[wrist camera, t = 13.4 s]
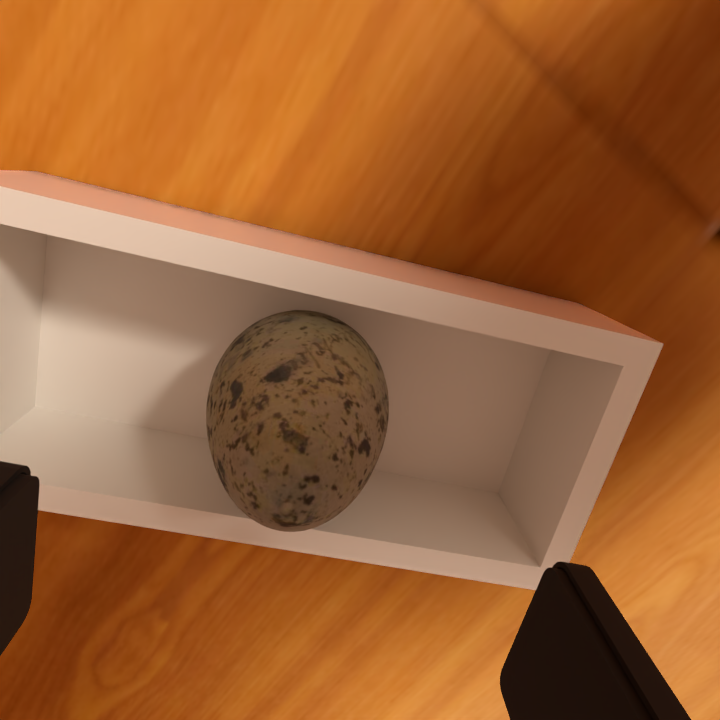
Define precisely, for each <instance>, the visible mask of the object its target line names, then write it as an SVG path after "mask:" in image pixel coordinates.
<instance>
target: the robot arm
mask: <svg viewBox="0 0 720 720" xmlns="http://www.w3.org/2000/svg"><path fill="white" fill-rule="evenodd" d="M39 485H40V484H39V478H38V477H37V476H31V471H30V469H29V467H28V466H25V465H20V464H14V463H8V462H3V461H0V655H1V654H2V652H3V651H4V650H5V648H6V647H7V645H8V644H9V642H10V641H11V639H12V638H13V636H14V635H15V633H16V632H17V631H18V629H19V628H20V626H21V625H22V623H23V621H24V620H25V618H26V616H27V613H28V611H29V608H30V604H31V599H32V585H33V571H34V556H35V542H36V528H37V514H38V500H39ZM500 687H501V692H502V695H503V698H504V701H505V704H506V708H507V711H508V714H509V717H510V720H691V719H690V717H689V716H688V714H687V713H686V711H685V710H684V708H683V707H682V705H681V704H680V702H679V701H678V699H677V697H676V696H675V694H674V693H673V691H672V690H671V688H670V687H669V685H668V684H667V682H666V681H665V679H664V678H663V676H662V675H661V673H660V672H659V670H658V669H657V667H656V666H655V664H654V663H653V661H652V660H651V658H650V657H649V655H648V653H647V652H646V650H645V649H644V647H643V646H642V644H641V643H640V641H639V640H638V638H637V637H636V635H635V634H634V632H633V631H632V629H631V628H630V626H629V625H628V623H627V622H626V620H625V619H624V617H623V616H622V614H621V613H620V611H619V609H618V608H617V606H616V605H615V603H614V602H613V600H612V599H611V597H610V596H609V594H608V593H607V591H606V590H605V588H604V587H603V585H602V584H601V582H600V581H599V579H598V578H597V576H596V575H595V573H594V572H593V570H592V569H591V568H590V567H588V566H584V565H579V564H573V563H567V562H562V561H560V562H556V563H555V564H554V565H553V567H552V568H551V567H549V568H547V569H546V570H545V571H544V573H543V575H542V577H541V580H540V582H539V584H538V587H537V589H536V591H535V594H534V596H533V598H532V601H531V603H530V605H529V608H528V610H527V612H526V615H525V617H524V619H523V621H522V624H521V626H520V628H519V631H518V633H517V635H516V638H515V640H514V642H513V645H512V647H511V649H510V652H509V654H508V656H507V659H506V661H505V663H504V666H503V668H502V671H501V676H500Z"/></svg>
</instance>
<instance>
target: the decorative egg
mask: <svg viewBox="0 0 720 720" xmlns="http://www.w3.org/2000/svg"><path fill="white" fill-rule="evenodd" d="M388 418H389V398H388V389H387V384H386V379H385V376H384V372H383V370H382V367H381V365H380V362H379V360H378V358H377V356H376V355H375V353H374V351H373V350H372V348H371V347H370V346H369V344H368V343H367V342H366V340H365V339H364V338H363V337H362V336H361V335H360V334H359V333H358V332H357V331H355V330H354V329H353V328H352V327H350V326H349V325H347V324H346V323H344V322H343V321H341V320H339V319H337V318H335V317H332V316H330V315H327V314H324V313H320V312H315V311H308V310H292V311H285V312H280V313H276V314H273V315H270V316H268V317H265V318H263V319H261V320H259V321H257V322H255V323H254V324H252V325H251V326H249V327H248V328H247V329H245V330H244V331H243V332H242V333H241V334H239V335H238V336H237V337H236V338H235V339H234V341H233V342H232V343H231V344H230V345H229V347H228V348H227V349H226V351H225V352H224V354H223V356H222V357H221V359H220V361H219V363H218V365H217V367H216V369H215V371H214V374H213V377H212V380H211V383H210V388H209V392H208V398H207V406H206V427H207V436H208V442H209V447H210V451H211V456H212V459H213V462H214V466H215V469H216V471H217V474H218V476H219V479H220V481H221V483H222V485H223V487H224V489H225V490H226V492H227V493H228V495H229V497H230V498H231V499H232V501H233V502H234V503H235V504H236V506H237V507H238V508H239V509H240V510H241V511H242V512H243V513H245V514H246V515H247V516H248V517H249V518H251V519H252V520H254V521H255V522H257V523H259V524H261V525H263V526H265V527H267V528H270V529H274V530H278V531H284V532H297V531H305V530H308V529H312V528H315V527H317V526H320V525H322V524H324V523H326V522H328V521H330V520H331V519H333V518H334V517H336V516H337V515H339V514H340V513H341V512H342V511H343V510H345V509H346V508H347V507H348V506H349V505H350V504H351V503H352V502H353V501H354V499H355V498H356V497H357V496H358V495H359V493H360V492H361V491H362V489H363V488H364V486H365V485H366V483H367V481H368V480H369V478H370V476H371V474H372V472H373V470H374V468H375V466H376V463H377V461H378V459H379V456H380V454H381V451H382V448H383V445H384V441H385V437H386V433H387V427H388Z"/></svg>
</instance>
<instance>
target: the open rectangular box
mask: <svg viewBox="0 0 720 720" xmlns="http://www.w3.org/2000/svg"><path fill="white" fill-rule="evenodd" d="M292 310H308V311H315V312H320V313H324V314H327V315H330V316H332V317H335V318H337V319H339V320H341V321H343V322H344V323H346V324H347V325H349V326H350V327H352V328H353V329H354V330H355V331H357V332H358V333H359V334H360V335H361V336H362V337H363V338H364V339H365V340H366V342H367V343H368V344H369V346H370V347H371V348H372V350H373V351H374V353H375V355H376V356H377V358H378V360H379V362H380V365H381V367H382V370H383V372H384V376H385V379H386V384H387V389H388V398H389V418H388V427H387V433H386V437H385V441H384V445H383V448H382V451H381V454H380V456H379V459H378V461H377V463H376V466H375V468H374V470H373V472H372V474H371V476H370V478H369V480H368V481H367V483H366V485H365V486H364V488H363V489H362V491H361V492H360V493H359V495H358V496H357V497H356V498H355V499H354V501H353V502H352V503H351V504H350V505H349V506H348V507H347V508H346V509H345V510H343V511H342V512H341V513H340V514H339V515H337V516H336V517H334V518H333V519H331V520H330V521H328V522H326V523H324V524H322V525H320V526H317V527H315V528H312V529H308V530H305V531H297V532H284V531H278V530H274V529H270V528H267V527H265V526H263V525H261V524H259V523H257V522H255V521H254V520H252V519H251V518H249V517H248V516H247V515H246V514H245V513H243V512H242V511H241V510H240V509H239V508H238V507H237V506H236V504H235V503H234V502H233V501H232V499H231V498H230V497H229V495H228V493H227V492H226V490H225V489H224V487H223V485H222V483H221V481H220V479H219V476H218V474H217V471H216V469H215V466H214V462H213V459H212V456H211V451H210V447H209V442H208V436H207V427H206V406H207V398H208V392H209V388H210V383H211V380H212V377H213V374H214V371H215V369H216V367H217V365H218V363H219V361H220V359H221V357H222V356H223V354H224V352H225V351H226V349H227V348H228V347H229V345H230V344H231V343H232V342H233V341H234V339H235V338H236V337H237V336H238V335H239V334H241V333H242V332H243V331H244V330H245V329H247V328H248V327H249V326H251V325H252V324H254V323H255V322H257V321H259V320H261V319H263V318H265V317H268V316H270V315H273V314H276V313H280V312H285V311H292ZM662 347H663V343H661V342H659V341H657V340H655V339H653V338H651V337H649V336H647V335H644V334H642V333H640V332H638V331H636V330H634V329H632V328H630V327H628V326H626V325H624V324H621V323H619V322H617V321H615V320H613V319H611V318H609V317H607V316H605V315H603V314H601V313H598V312H596V311H594V310H592V309H590V308H588V307H586V306H584V305H582V304H580V303H576V302H572V301H568V300H564V299H559V298H555V297H551V296H547V295H543V294H539V293H535V292H531V291H526V290H522V289H518V288H514V287H510V286H506V285H502V284H498V283H494V282H489V281H485V280H481V279H477V278H473V277H469V276H465V275H461V274H457V273H452V272H448V271H444V270H440V269H436V268H432V267H428V266H424V265H420V264H415V263H411V262H407V261H403V260H399V259H395V258H391V257H387V256H383V255H378V254H374V253H370V252H366V251H362V250H358V249H354V248H350V247H346V246H341V245H337V244H333V243H329V242H325V241H321V240H317V239H313V238H309V237H304V236H300V235H296V234H292V233H288V232H284V231H280V230H276V229H272V228H267V227H263V226H259V225H255V224H251V223H247V222H243V221H239V220H235V219H230V218H226V217H222V216H218V215H214V214H210V213H206V212H202V211H198V210H193V209H189V208H185V207H181V206H177V205H173V204H169V203H165V202H161V201H156V200H152V199H148V198H144V197H140V196H136V195H132V194H128V193H123V192H119V191H115V190H111V189H107V188H103V187H99V186H95V185H91V184H86V183H82V182H78V181H74V180H70V179H66V178H62V177H58V176H54V175H49V174H45V173H41V172H37V171H13V170H0V461H3V462H8V463H14V464H20V465H25V466H28V467H29V469H30V471H31V476H37V477H38V478H39V484H40V485H39V500H38V510H40V511H46V512H53V513H59V514H65V515H71V516H77V517H84V518H90V519H96V520H102V521H109V522H115V523H121V524H127V525H133V526H140V527H146V528H152V529H158V530H164V531H171V532H177V533H183V534H189V535H196V536H202V537H208V538H214V539H220V540H227V541H233V542H239V543H245V544H252V545H258V546H264V547H270V548H276V549H283V550H289V551H295V552H301V553H308V554H314V555H320V556H326V557H332V558H339V559H345V560H351V561H357V562H363V563H370V564H376V565H382V566H388V567H395V568H401V569H407V570H413V571H419V572H426V573H432V574H438V575H444V576H451V577H457V578H463V579H469V580H475V581H482V582H488V583H494V584H500V585H507V586H513V587H519V588H525V589H531V590H536V589H537V587H538V584H539V582H540V580H541V577H542V575H543V573H544V571H545V570H546V569H547V568H549V567H551V568H552V567H553V565H554V564H555V563H556V562H560V561H562V562H567V563H569V562H570V560H571V558H572V555H573V553H574V551H575V548H576V546H577V544H578V541H579V539H580V537H581V535H582V532H583V530H584V528H585V525H586V523H587V521H588V518H589V516H590V514H591V511H592V509H593V507H594V504H595V502H596V500H597V497H598V495H599V493H600V490H601V488H602V486H603V484H604V481H605V479H606V477H607V474H608V472H609V470H610V467H611V465H612V463H613V460H614V458H615V456H616V453H617V451H618V449H619V446H620V444H621V442H622V439H623V437H624V435H625V433H626V430H627V428H628V426H629V423H630V421H631V419H632V416H633V414H634V412H635V409H636V407H637V405H638V402H639V400H640V398H641V395H642V393H643V391H644V389H645V386H646V384H647V382H648V379H649V377H650V375H651V372H652V370H653V368H654V365H655V363H656V361H657V358H658V356H659V354H660V351H661V349H662Z"/></svg>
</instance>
